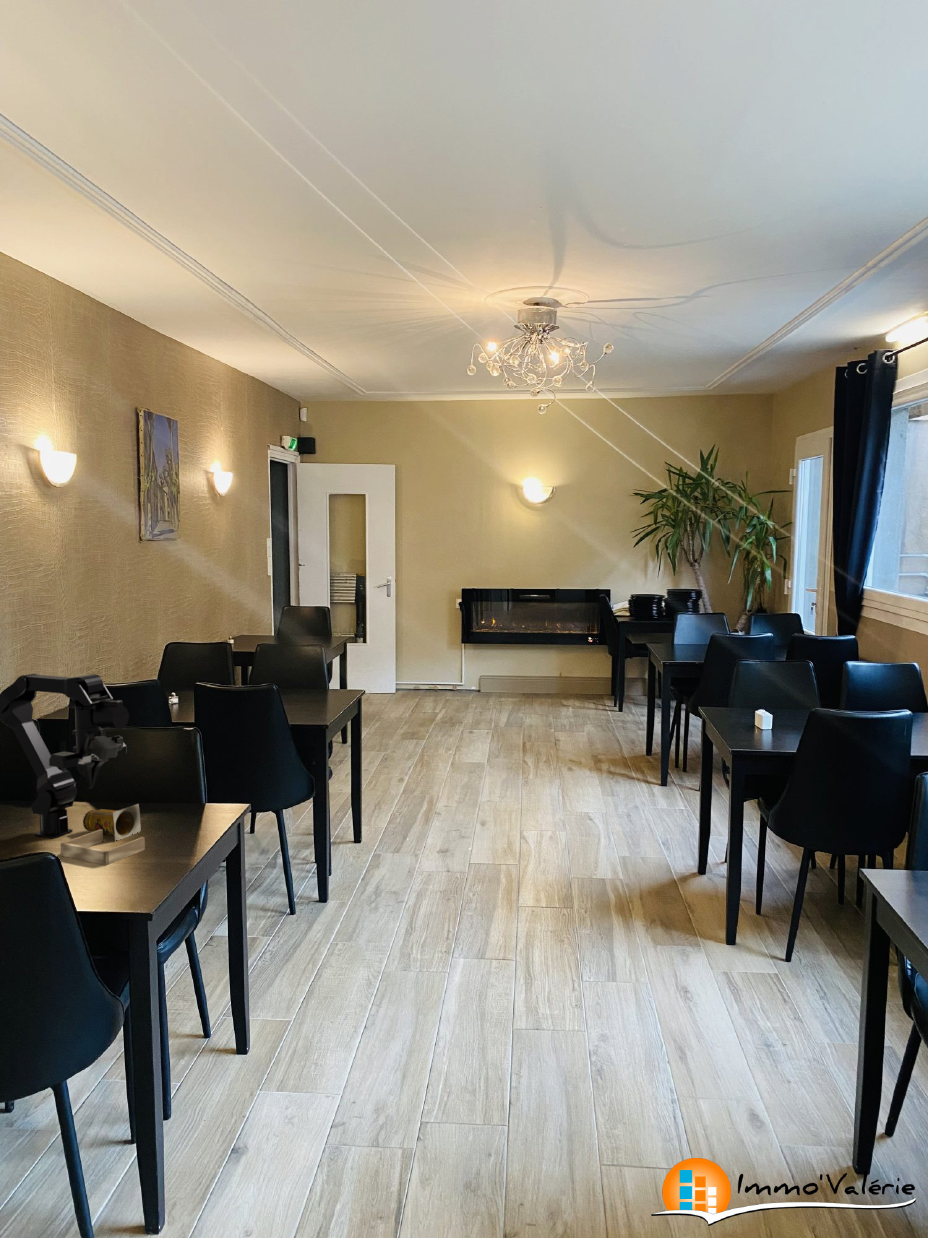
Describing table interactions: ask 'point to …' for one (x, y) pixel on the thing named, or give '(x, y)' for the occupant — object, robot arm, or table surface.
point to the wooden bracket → (81, 850)
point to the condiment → (114, 821)
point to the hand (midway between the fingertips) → (90, 788)
